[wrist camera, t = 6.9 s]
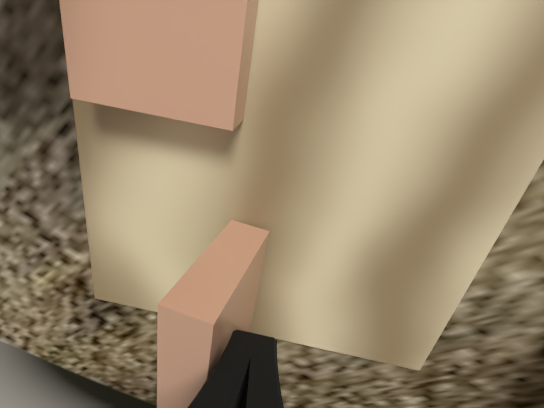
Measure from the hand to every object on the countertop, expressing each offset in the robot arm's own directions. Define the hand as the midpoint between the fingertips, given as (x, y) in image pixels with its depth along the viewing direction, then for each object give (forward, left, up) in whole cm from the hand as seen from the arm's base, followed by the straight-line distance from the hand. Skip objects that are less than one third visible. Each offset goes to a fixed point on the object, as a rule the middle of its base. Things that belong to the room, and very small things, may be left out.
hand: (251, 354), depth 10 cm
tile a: (+2, -9, -3) cm, 10 cm away
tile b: (+1, 0, -4) cm, 4 cm away
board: (0, -5, -5) cm, 7 cm away
